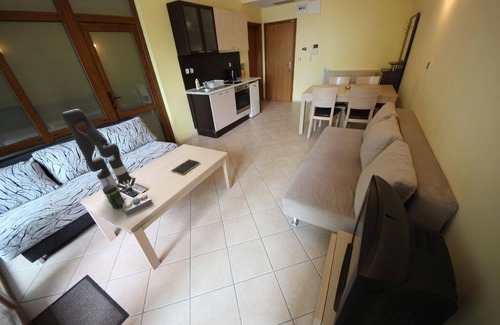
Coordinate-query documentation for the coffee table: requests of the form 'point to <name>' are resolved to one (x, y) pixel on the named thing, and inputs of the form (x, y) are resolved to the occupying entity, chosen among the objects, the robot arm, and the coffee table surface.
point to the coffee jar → (113, 196)
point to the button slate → (135, 200)
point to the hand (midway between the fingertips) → (131, 191)
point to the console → (137, 204)
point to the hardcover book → (185, 167)
